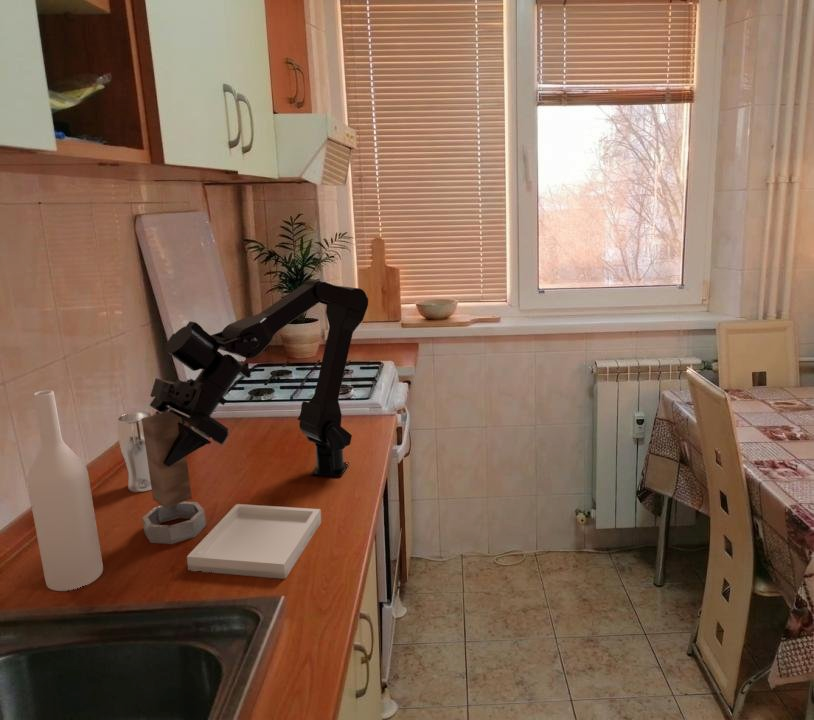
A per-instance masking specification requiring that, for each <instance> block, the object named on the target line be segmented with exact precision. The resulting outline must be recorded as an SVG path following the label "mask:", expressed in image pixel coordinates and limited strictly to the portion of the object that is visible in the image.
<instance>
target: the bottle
mask: <svg viewBox="0 0 814 720" xmlns="http://www.w3.org/2000/svg"><path fill="white" fill-rule="evenodd" d="M33 401H34V407H35V412H36V417H37V423H38V429H39V435H40V437H39V438H40V442H41V443H40V448H39V450H38V452H37V454H36V456H35V459H34V461H33V462H32V464H31V466H30V468H29V471H28V474H27V478H26V481H27V482H26V483H27V489H28V494H29V499H30V505H31V511H32V516H33V521H34V526H35V531H36V532H35V533H36V537H37V538H36V539H37V544H38V547H39V553H40V554H39V555H40V558H41V563H42V570H43V576H44V580H45V585H46V587H47V588H48V589H50V590H52V591H55V592H67V591H68V590H69V591H73V589H74V590H78V589H81V588H83V587H82V586H84V587H86V586H88V585H90V584H92V583H93V582H95V581H96V580H97V579H99V577H100V576H101V575H102V574H103V571H104V565H103V559H102V552H101V551H102V550H101V547H100V546H101V545H100V539H99V538H100V537H99V534H98V533H99V532H98V528H97V527H98V526H97V522H96V515H95V514H96V513H95V509H94V502H93V501H94V500H93V495H92V489H91V484H90V482H91V481H90V478H89V477H90V476H89V471H88V468H87V466H86V463H85V462H84V461H83V459H81V457H79V456H78V455H77V454H76V453H75V451H73V450H72V449H71V448H70V446H68V445H67V444H66V443H65V442H64V439H63V436H62V432H61V431H62V430H61V425H60V421H59V419H60V418H59V415H58V408H57V401H56V396H55V392H54V390H52V389H51V390H39V391H36V392H35V393H34V394H33ZM85 585H86V586H85ZM80 587H81V588H80ZM77 588H78V589H77Z"/></svg>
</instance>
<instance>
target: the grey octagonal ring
mask: <svg viewBox="0 0 814 720" xmlns="http://www.w3.org/2000/svg"><path fill="white" fill-rule="evenodd" d="M177 519H187V520H185V521H182V522H179V523H175V524H171V525H166V524H165V525H164V524H163V523H166V522H170V521H172V520H173V521H174V520H177ZM188 519H189V520H188ZM142 525H143V533H144V535H145V536H146V538H147V539H148V542H149V543H153V544H166V545H174V544H176V543H181V542H183V541H186V540H190V539H193V538H196V536H198V535H199V533H201V532H202V530H203V529H204V528H205V527H206V526H207V522H206V513H205V509H204V508H203V507H202V506H201V505H200V503H199V502H198V501H187V500H186V501H184V502H181V503H178V504H175V505H173V506H170V507H167V508H164V507H163V506H161V505H157V506H155V507H154V508H152V509H151V510H149V511H148V512H147V513H146V514H145V515H144V516H142Z"/></svg>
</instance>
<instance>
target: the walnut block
mask: <svg viewBox="0 0 814 720" xmlns="http://www.w3.org/2000/svg"><path fill="white" fill-rule="evenodd" d="M159 413H160V412H159ZM178 422H180V423H182V418H181V417H179V416H177V415H175V414H173V413H171V412H169V411H168V412H164V413H160V414H157V415H156V414H154V415H153V414H152V416H149V417H145V418H142V425H143V432H144V439H145V446H146V453H147V460H148V467H149V474H150V481H151V488H152V490H151V494H152V499H153V501H154V502H155V503H157V504H159V506H163V507H164V508H167V507H170V506H173V505H175V504H178V503H181V502H184V501H186V502H187V501H189V500H191V499H192V490H191V484H190V474H189V468H188V459H187V456H185V457H184V458H182V459H180V460H179V461H177V462H176V463H174V464H172V465H171V466H166V465H165V464H164V461H165V459H166V457H167V455H168V453H169V451H170V449H171V448H172V446H173V444H174V442H175V441H176V439H177V437H178V435H179V428H178Z"/></svg>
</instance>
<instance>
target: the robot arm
mask: <svg viewBox="0 0 814 720" xmlns="http://www.w3.org/2000/svg"><path fill="white" fill-rule="evenodd" d="M317 304H322V305H326V307H325V314H326V319H327V322H328V327H329V328H328V332H327V336H326V342H325V346H324V350H323V355H322V360H321V364H320V368H319V369H320V370H319V373H318V378H317V382H316V387H315V392H314V394H313V396H312V397H311V399H309V401H306V400H303V401H302V403H301V407H300V414H299V416H298V418H297V421H299V429H300V431H301V433H302V434H303V435H305V437H306V439H307V441H308V442H311V443H314V445H315V447H314V448H315V460H316V466H315V467H314V469H313V470H311V471H312V472H311V476H319V477H321V476H322V477H336V476H340V477H342V476H343V475H342V473H343V472H344V471H345V472H346V470H347V469H346V467H347V466H348V464H349V465H350V463H349V462H345V461H344V449H346V447H348V446H350V445H351V441H352V437H353V436H352V434H351V433H349V431H347V430H346V429H345V428H343V427H342V418H343V416H342V411H341V407H340V402H339V397H340V392H341V388H342V383H343V378H344V374H345V369H346V365H347V362H348V355H349V352H350V348H351V347H350V346H351V342H352V339H353V334H354V332H355V330H356V329H357V328H358V327H359V326H360V325H361V323H362V322H363V320H364V319H365V318H364V317H365V315H366V312H367V310H368V307H369V297H368V296H367V293H366V292H365V291H364V290H363V289H362V288H359V287H358V288H357V287H351V286H342V285H335V284H331V283H329V282H327V281H325V280H323V279H307V280H305V281H304V282H303V283H302V284H301V285H300V286H298V287H297V288H296V289H294V290H292V291H291V292H289V293H288V294H286V295H284V297H282V298H280V299H279V300H278V301H276V302H275V303H273V304H271V305H270V306H269V307H267V308H265V310H262V311H261V312H259V313H257V314H255V315H251V316H247V317H244V318H241V319H239V320H236V321H234V322H232V323H229V324H227V325H226V326H225V327H224V328H223V330H222V331H220V332H216V333H214V334H213V333H212V334H209V333H208V332H206V331H205V330H204V328H202V326H201V325H200V324H198V323H197V322H196V321H195V322H194V321H190V320H189V322H188V323H187V324H186V326H183V327H181V328H179V330H177V331H176V332H175V333H172V335H171V336H170V337H169V339H168V341H167V343H166V346H165V351H166V352H167V354H169V355H170V356H171V357H173V358H174V359H175V360H177V361H179V362H180V363H181V364H183V365H184V366H186V367H187V368H188V369H189V370H191V371H193V372H194V371H199V370H200V373H199V374H198V375H197V376H196V378H195V379H192V378H189V379H187V380H186V381H182V380H180V379H176V380H175V382H174V381H170V380H165V379H162V378H161V379H160V378H155V379H154V384H153V387H152V389H151V392H150V397H152V398H153V400H151V402H150V404H149V406H150V407H151V408H153V409H155V411H156V412H155V415H157V414H160V413H164V412H168V411H169V412H171V413H173V414H175V415H177V416H179V417H181V418H182V423H180V422H178V428H179V435H178V437H177V439H176V441H175V442H174V444H173V446H172V448H171V449H170V451H169V453H168V455H167V457H166V459H165V461H164V464H165V465H166V466H171V465H172V464H174V463H176V462H177V461H179V460H180V459H182V458H184V457H185V456H186V457H187V456H189V455H190V454H192V453H193V452H195V451H197V450H199V449H201V448H202V447H204V446H207V445H211V444H212V441H214V442H215V443H218V444H219V445H222V446H223V445H224V444H225V442H226V441H227V439H228V438H229V435H230V434H229V433H230V432H229V428H228V427H226V426H225V425H223V424H222V423H220V422H219V421H218V420H216V419H215V418H213V417H212V415H213V413H214V412H215V410H216V408H217V407H218V406H219V404H221V405H222V406H224V405H225V404H226V403H227V401H228V400H227V399H226V398H225V396H226V394H227V392H228V391H229V389H230V388H231V387H232V386H233V384H234V382H235V380H236V379H237V378H238V376H242V377H244V378H247V379H249V378H251V376H252V375H251V372H250V371H251V370H250V368H249V364H250V363H249V362H246V361H243V360H241V361H239V360H238V359H236V358H235V357H234V356H232V355H236V356H238V357H242V358H247V359H254V358H256V357H258V356H259V355H261V353H262V352H263V351H264V350H265V349H267V347H268V346H269V345H270V344H271V342H272V340H273V338H274V337H275V335H276V334H277V333H278V332H279V331H280V330H282V329H283V328H285V327H286V326H288V325H289V324H290V323H292V322H293V321H295V320H296V319H297V318H299V317H300V316H301V315H304V314H305V313H307V311H309V310H310V309H311V308H313V307H315V306H316V305H317ZM219 350H220V351H224V352H227V353H229V354H223V353H221V352H220V351H219ZM185 423H186V424H187V425H186V424H185ZM210 438H211V439H212V441H210ZM346 463H348V464H346ZM348 467H349V466H348ZM348 467H347V468H348ZM345 469H346V470H345ZM345 472H344V473H345ZM344 473H343V474H344ZM341 475H342V476H341Z"/></svg>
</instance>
